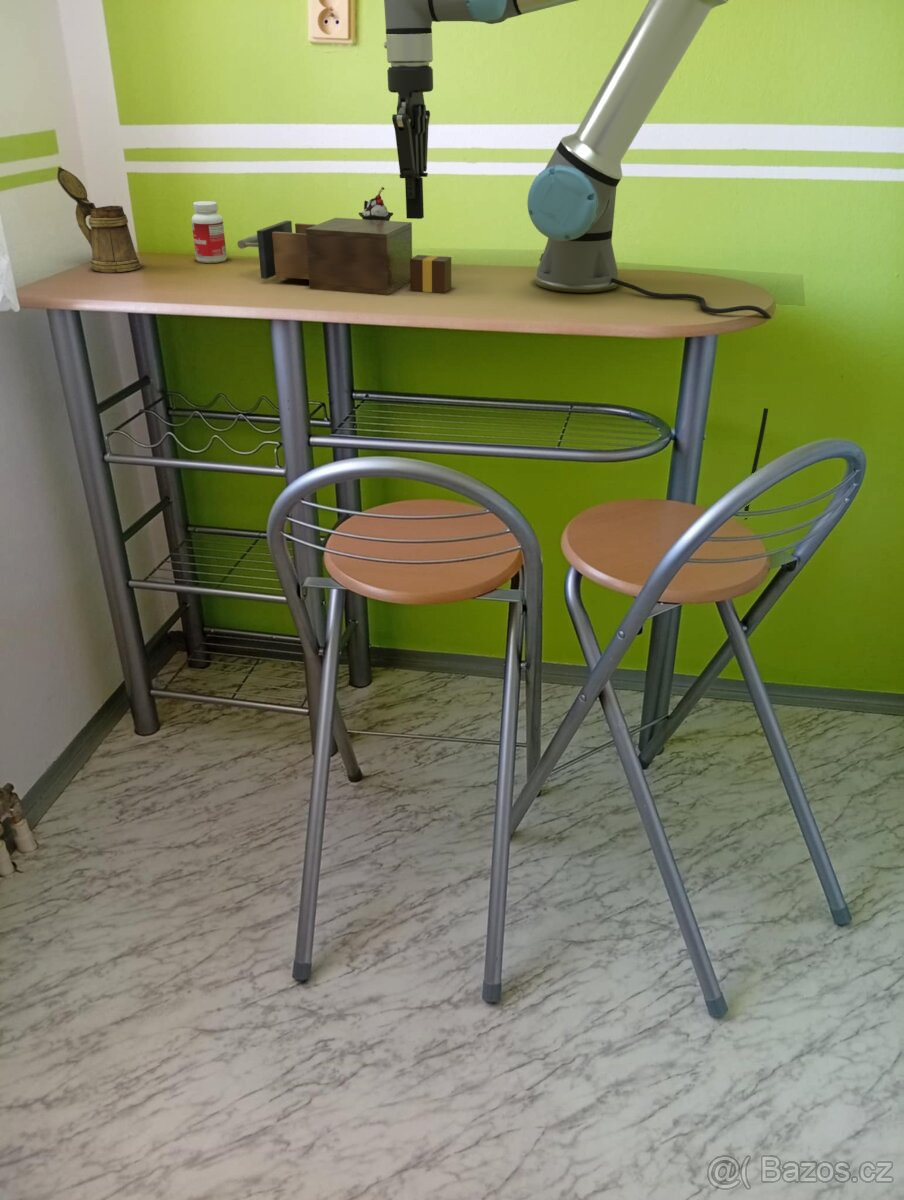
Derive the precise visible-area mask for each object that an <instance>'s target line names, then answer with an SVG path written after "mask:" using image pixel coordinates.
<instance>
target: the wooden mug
mask: <svg viewBox="0 0 904 1200" xmlns="http://www.w3.org/2000/svg"><path fill="white" fill-rule="evenodd" d="M56 178H57V182H58V184H59V185H60V187H61V189H62V190H63V191H64V192H65V193H66V194H67V195H68V197H69V198H71V199H72V200H73V201H75V202H76V203H77V204H76V206H75V219H76V222H77V226H78V227H79V229H80V231H81V232H82V234H83V236H84V237H85V238H86V240H87V242H88V243H89V245H90V248H91V255H92V257H91V258H90V264H91V269H92V270H93V271H95V272H99V273H105V274H109V273H124V272H132V271H135V270H139V269H140V268H141V266H142V265H141V262H140V258H139V257H138V256H137V253H136V249H135V246H134V242H133V239H132V235H131V232H130V229H129V225H128V223H129V219H128V217H127V215H126V213H125V211H124V208H123V206H122V205H105V206H100V207H96V204H95V203H94V202H91V201H90V200H89V199H88V193H87V189H86V187H85V185H84V184H83V183H82V181H81V180H80V179H79V178H78V177H77V176H76V175H75V174H73V173H71V172H70V171H69V170H67V169H65V168H62V167H61V166H58V167H57V176H56ZM87 217H88V224H87ZM89 226H90V227H89Z"/></svg>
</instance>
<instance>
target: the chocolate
mask: <svg viewBox="0 0 904 1200" xmlns="http://www.w3.org/2000/svg"><path fill="white" fill-rule="evenodd" d="M409 283H410V284H409V285H410V286H409V289H410V291H412V292H422V293H436V294H446V292H447V293H448V292H449V291H450V290H451V289H452V256H442V255H441V256H439V255H426V254H425V255H424V254H416V255H415V256H412V258H411V259H410V282H409Z"/></svg>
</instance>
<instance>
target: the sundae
mask: <svg viewBox="0 0 904 1200" xmlns="http://www.w3.org/2000/svg"><path fill="white" fill-rule="evenodd" d="M384 190H385V187H384V186H383V187H382V186H381V189H380V190H379V191H378V193H377V195H375V197H373V198H371V199H369V200H368V201H367V200H364V202H363V211H362V212H358V215H359V216H360V217H361V219H365V220H382V221H391V220H390V219H391V217H392V216H394V213H393V211H392V212H390V211H389V210H388V208H387V206H386V205H385V203H384V200H383V198H382V196H381V193H382V192H383V191H384Z"/></svg>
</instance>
